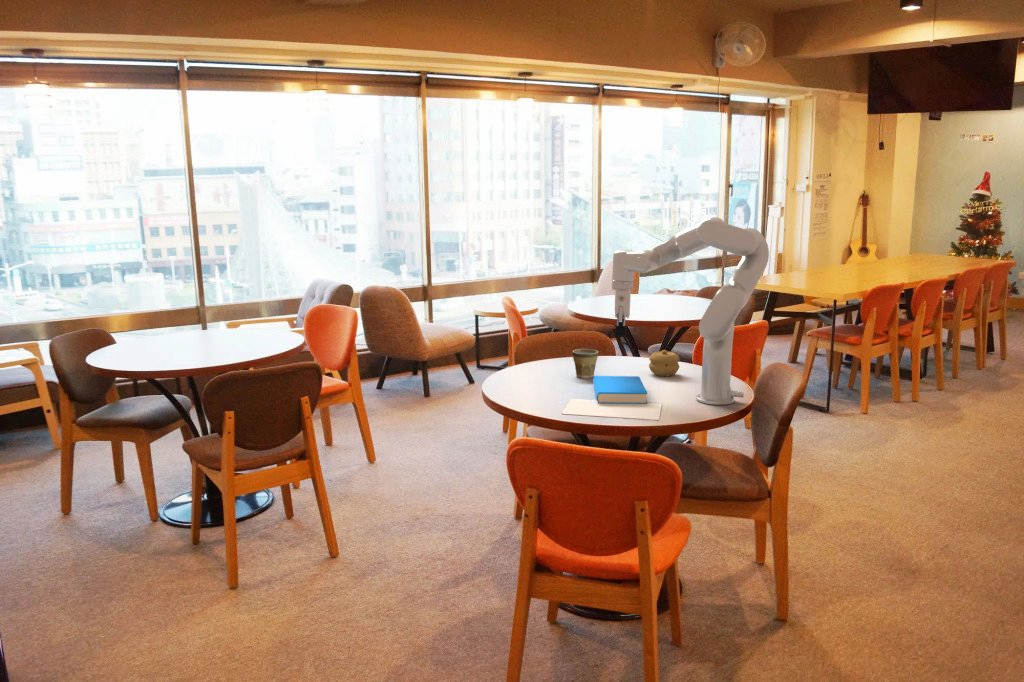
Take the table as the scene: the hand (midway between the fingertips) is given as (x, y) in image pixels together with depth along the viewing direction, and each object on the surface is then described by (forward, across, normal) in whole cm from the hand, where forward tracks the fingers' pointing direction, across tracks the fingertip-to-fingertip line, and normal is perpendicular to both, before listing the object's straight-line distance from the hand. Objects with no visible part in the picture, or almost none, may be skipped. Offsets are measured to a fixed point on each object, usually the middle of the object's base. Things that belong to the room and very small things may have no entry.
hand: (620, 336), depth 285 cm
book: (+20, -7, -1) cm, 21 cm away
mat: (+20, -26, 0) cm, 33 cm away
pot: (+20, +27, -16) cm, 37 cm away
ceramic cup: (+20, +20, +14) cm, 32 cm away
